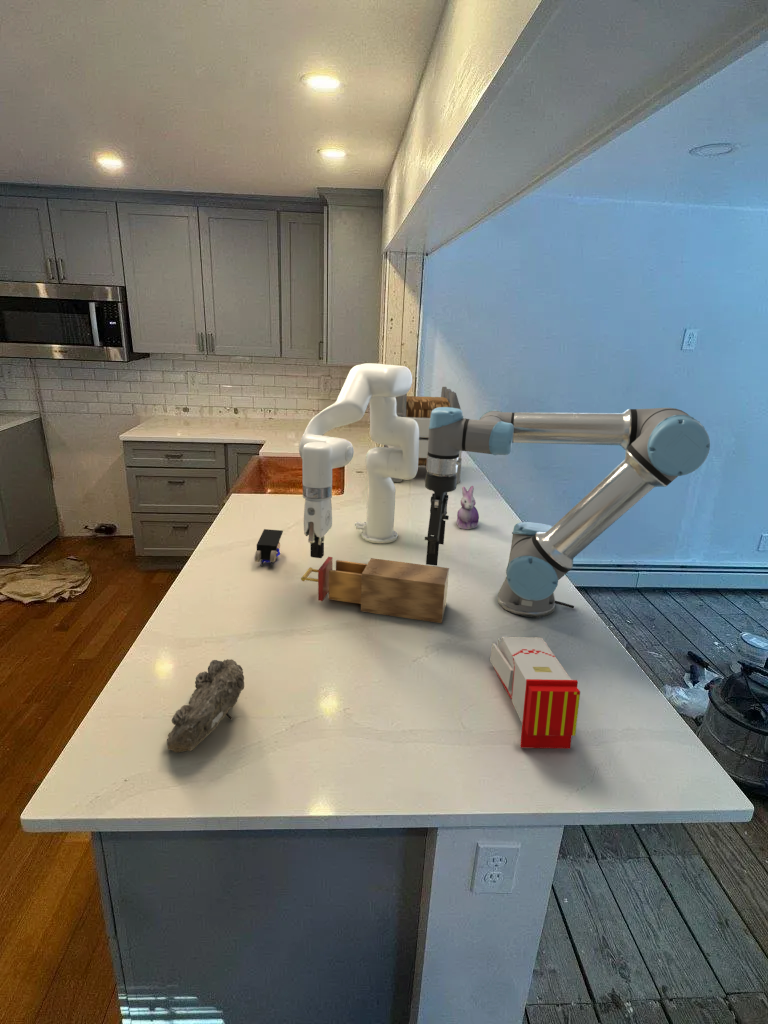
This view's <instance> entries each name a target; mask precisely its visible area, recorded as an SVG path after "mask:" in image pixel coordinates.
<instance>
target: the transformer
mask: <svg viewBox="0 0 768 1024" xmlns="http://www.w3.org/2000/svg"><path fill="white" fill-rule="evenodd" d="M440 393H441V394H440V396H415V395H414V396H413V395H412V396H411V395H407V394H408V392H407V393H406V394H405V395H403V396H398V397H395V398H396V413H397V416H398V417H406V418H411V419H414V420H415V421H416V422H417V424H418V427H419V459H418V467H426V463H427V454H428V438H429V426H430V418H431V412H432V410H434V409H435V408H438V407H452V408H458V409H460V410H462V408H461V405H460V402H459V398H458V395H457V392H455V391H453V390H452V389H451V388H447V386H442V387H441V392H440ZM383 447H386V448H394V449H400V450H402V448H401V447H396V446H389V445H383ZM462 453H463V451H459V457H458V460H457V461H461V464H460V465H458V470H457V473H456V475H457V483H456V484H459V483H461V472H462V461H463V460H462ZM391 479H392V481H393V483H402V482H403V479H398V478H391Z"/></svg>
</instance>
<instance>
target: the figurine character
mask: <svg viewBox="0 0 768 1024" xmlns="http://www.w3.org/2000/svg"><path fill="white" fill-rule="evenodd" d="M283 533H284V531H283V530H279V529H269V528H268V529H266V528H264V529H263V530H262V533H261V534H260V536H259V539H258V541H257V543H256V550H255V554H254V562H255V563H260V567H263V566H264V564H265V563H269V567H270V568H272V567H273V564H274V563H275V562H277V560H278V559H277V558H278V557H279V556H281V552H280V549H281V543H280V540H281V538H282V535H283Z"/></svg>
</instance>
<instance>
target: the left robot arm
mask: <svg viewBox="0 0 768 1024" xmlns="http://www.w3.org/2000/svg"><path fill="white" fill-rule="evenodd" d="M412 385H413V374H412V372H411V370H410V368H409V367H408V366H406V365H396V364H385V363H376V362H375V363H374V362H372V363H371V362H367V363H361V364H356V365H354V366H353V367H352V368H350V370H349V371H348V373H347V377H346V378H345V380H344V382H343V385H342V387H341V389H340V391H339V394H338V396H337V398H336V400H335V402H333V403H332V404H331V405H328V406H327V407H325V408H324V409H323V410H321V411H320V412H318V413H317V414H316V415H314V416H313V417H312V418H311V419H310V421H309V422H308V423H307V426H306V427H305V429H304V431H303V434H302V436H301V438H300V442H299V446H298V454H299V456H300V459H302V461H301V462H302V464H301V465H302V468H301V470H302V473H301V474H302V498H303V499H304V510H303V534H304V536H305V537H308V540H307V542H308V543H309V545H310V550H309V551H310V554H309V555H310V557H311V558H313V559H314V558H315V559H322V558H323V557H324V556H325V536H326V534H327V533H328V532H329V531H330V530H331V529H332V527H333V507H332V505H333V503H332V498H333V469H337V468H338V469H339V468H343V467H346V466H347V465H348V464H350V463H351V462H352V459H353V458H354V454H355V451H354V449H355V448H354V446H353V444H352V442H351V441H350V440H348V439H346V438H341V437H335V436H329V435H325V434H327V433H328V432H330V431H332V430H334V429H337V428H339V427H345V426H347V425H350V424H354V423H356V422H359V421H361V419H363V418H364V416H365V413H366V411H367V408H368V406H369V435H370V439H371V441H372V442H373V443H375V444H378V445H383V446H374V447H372V448H370V449H368V451H367V452H366V455H365V461H364V462H365V463H364V464H365V470H366V478H367V491H366V519H365V520H366V521H364V522H362V521H355V522H354V527H355V529H356V530H361V534H360V535H361V538H362V539H363V540H364V541H366V542H368V543H373V544H389V543H393V542H395V541H397V540H398V537H399V534H398V532H397V531H396V530H395V528H394V527H395V510H396V509H395V508H396V507H395V506H396V491H397V490H396V485H395V482H393V481H392V479H391V478H398V479H402V480H407V481H408V480H409V481H410V480H413V479H414V478H415V477H416V476H417V474H418V470H419V466H418V459H419V427H418V424H417V422H416V421H415V420H414V419H411V418H406V417H398V416H397V413H396V398H395V397H398V396H403V395H405V394H406V393H407V394H408V393H409V391H410V390H411V388H412ZM384 445H389V446H396V447H401V448H402V450H400V449H394V448H386V447H384Z"/></svg>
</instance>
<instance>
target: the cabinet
mask: <svg viewBox="0 0 768 1024" xmlns="http://www.w3.org/2000/svg"><path fill="white" fill-rule="evenodd" d="M366 564H367V566H366V567H365V569H364V571H363V572H362V585H361V604H360V612H364V613H369V614H370V613H371V614H378V615H384V616H391V617H397V618H403V619H410V620H417V621H423V622H430V623H436V624H437V623H438V624H442V623H443V618H444V615H445V610H446V606H447V596H448V586H449V585H448V584H449V576H450V575H449V574H450V568H449V567H442V566H434V565H427V564H420V563H412V562H405V561H399V560H398V561H397V560H390V559H389V560H388V559H383V558H382V559H381V558H373V557H370V558H369V560H368V563H366Z"/></svg>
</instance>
